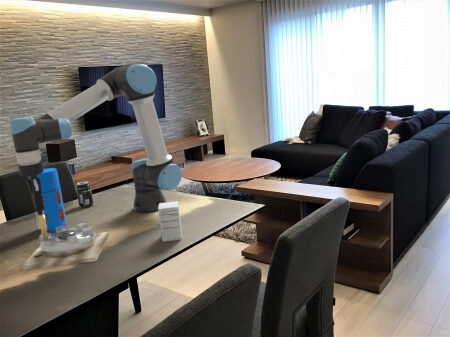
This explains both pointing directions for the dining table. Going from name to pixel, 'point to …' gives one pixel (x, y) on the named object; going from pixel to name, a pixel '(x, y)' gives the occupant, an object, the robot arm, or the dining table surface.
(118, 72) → the robot arm
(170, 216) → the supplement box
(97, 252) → the birch base board
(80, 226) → the metal lathe chuck
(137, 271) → the dining table surface
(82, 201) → the beverage can
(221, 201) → the dining table surface
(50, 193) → the thermos
